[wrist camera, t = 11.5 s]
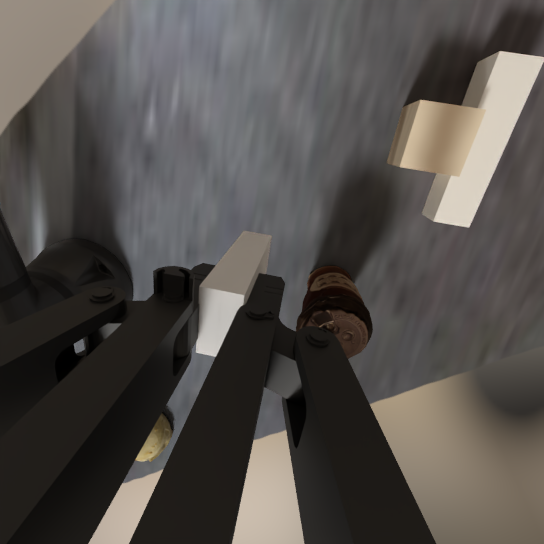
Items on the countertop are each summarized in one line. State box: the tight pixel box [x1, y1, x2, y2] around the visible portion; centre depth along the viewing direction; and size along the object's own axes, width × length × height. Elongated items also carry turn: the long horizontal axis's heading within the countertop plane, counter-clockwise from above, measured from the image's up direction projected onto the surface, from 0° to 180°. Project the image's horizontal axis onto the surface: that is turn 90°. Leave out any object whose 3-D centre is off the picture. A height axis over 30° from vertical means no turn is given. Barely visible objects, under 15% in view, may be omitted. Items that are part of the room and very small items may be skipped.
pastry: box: [135, 413, 173, 461], centre depth 57 cm, size 14×12×8 cm
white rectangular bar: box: [422, 51, 544, 228], centre depth 31 cm, size 4×16×4 cm, turn 172°
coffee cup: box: [296, 266, 373, 359], centre depth 36 cm, size 9×8×13 cm
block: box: [387, 100, 486, 177], centre depth 31 cm, size 6×6×6 cm
